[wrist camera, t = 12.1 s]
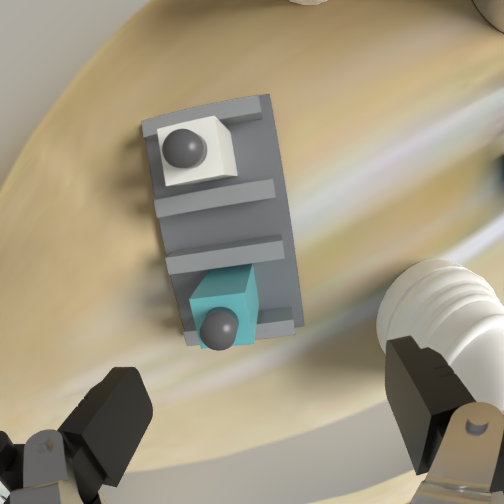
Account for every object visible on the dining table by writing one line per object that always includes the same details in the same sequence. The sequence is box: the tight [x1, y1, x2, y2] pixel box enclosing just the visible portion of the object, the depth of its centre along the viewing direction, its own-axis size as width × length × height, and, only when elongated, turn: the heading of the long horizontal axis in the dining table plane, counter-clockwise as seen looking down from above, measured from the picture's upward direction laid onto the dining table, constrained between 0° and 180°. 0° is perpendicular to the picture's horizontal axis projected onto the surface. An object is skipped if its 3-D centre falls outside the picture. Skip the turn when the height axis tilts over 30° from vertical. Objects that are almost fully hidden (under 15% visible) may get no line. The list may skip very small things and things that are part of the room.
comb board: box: [141, 94, 304, 346], centre depth 28 cm, size 12×22×4 cm, turn 9°
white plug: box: [157, 116, 238, 186], centre depth 23 cm, size 4×4×10 cm
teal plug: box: [189, 263, 259, 350], centre depth 26 cm, size 4×4×10 cm
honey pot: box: [376, 258, 504, 415], centre depth 22 cm, size 13×13×18 cm
